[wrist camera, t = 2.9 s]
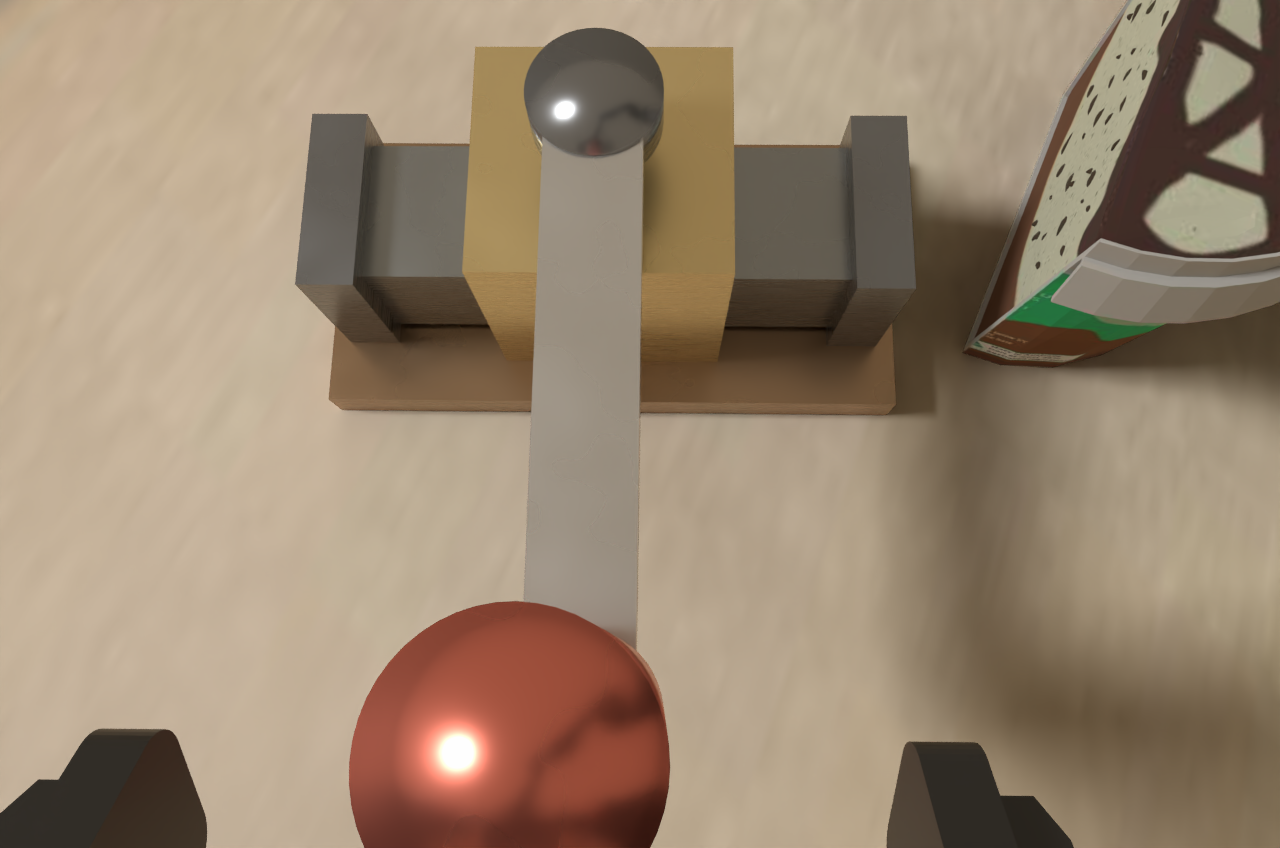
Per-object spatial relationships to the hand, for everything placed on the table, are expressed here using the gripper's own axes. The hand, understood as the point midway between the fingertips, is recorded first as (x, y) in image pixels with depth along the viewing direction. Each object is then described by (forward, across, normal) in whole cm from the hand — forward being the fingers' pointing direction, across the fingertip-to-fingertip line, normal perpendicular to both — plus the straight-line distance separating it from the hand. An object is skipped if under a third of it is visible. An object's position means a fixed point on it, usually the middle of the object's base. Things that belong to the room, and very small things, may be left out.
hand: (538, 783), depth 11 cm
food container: (+21, -15, +2) cm, 26 cm away
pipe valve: (+20, 0, +3) cm, 21 cm away
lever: (+10, 0, +1) cm, 10 cm away
